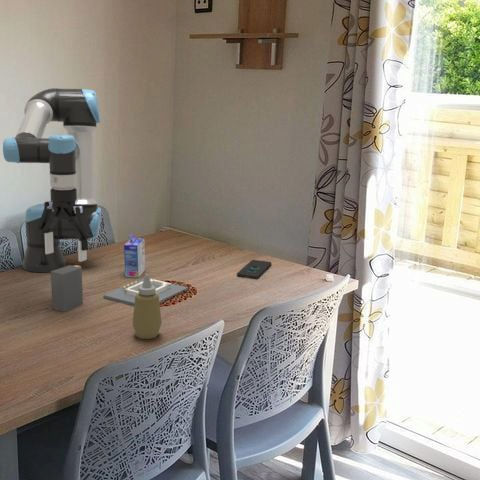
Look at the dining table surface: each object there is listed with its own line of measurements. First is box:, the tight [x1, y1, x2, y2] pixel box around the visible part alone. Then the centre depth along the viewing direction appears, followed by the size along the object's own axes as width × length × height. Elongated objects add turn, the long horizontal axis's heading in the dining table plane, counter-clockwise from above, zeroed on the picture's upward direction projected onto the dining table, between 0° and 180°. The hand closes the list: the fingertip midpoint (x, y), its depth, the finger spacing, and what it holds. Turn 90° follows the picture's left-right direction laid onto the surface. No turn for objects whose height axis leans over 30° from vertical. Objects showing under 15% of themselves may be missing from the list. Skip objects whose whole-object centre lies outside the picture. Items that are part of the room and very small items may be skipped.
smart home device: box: [236, 259, 272, 280], centre depth 241 cm, size 8×2×20 cm
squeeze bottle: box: [132, 273, 163, 340], centre depth 177 cm, size 8×8×18 cm
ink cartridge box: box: [123, 233, 146, 279], centre depth 231 cm, size 10×6×14 cm, turn 174°
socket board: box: [103, 278, 189, 307], centre depth 212 cm, size 18×22×2 cm
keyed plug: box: [50, 264, 84, 313], centre depth 198 cm, size 5×9×12 cm, turn 150°
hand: (65, 256), depth 194 cm, fingers open, 13 cm apart
